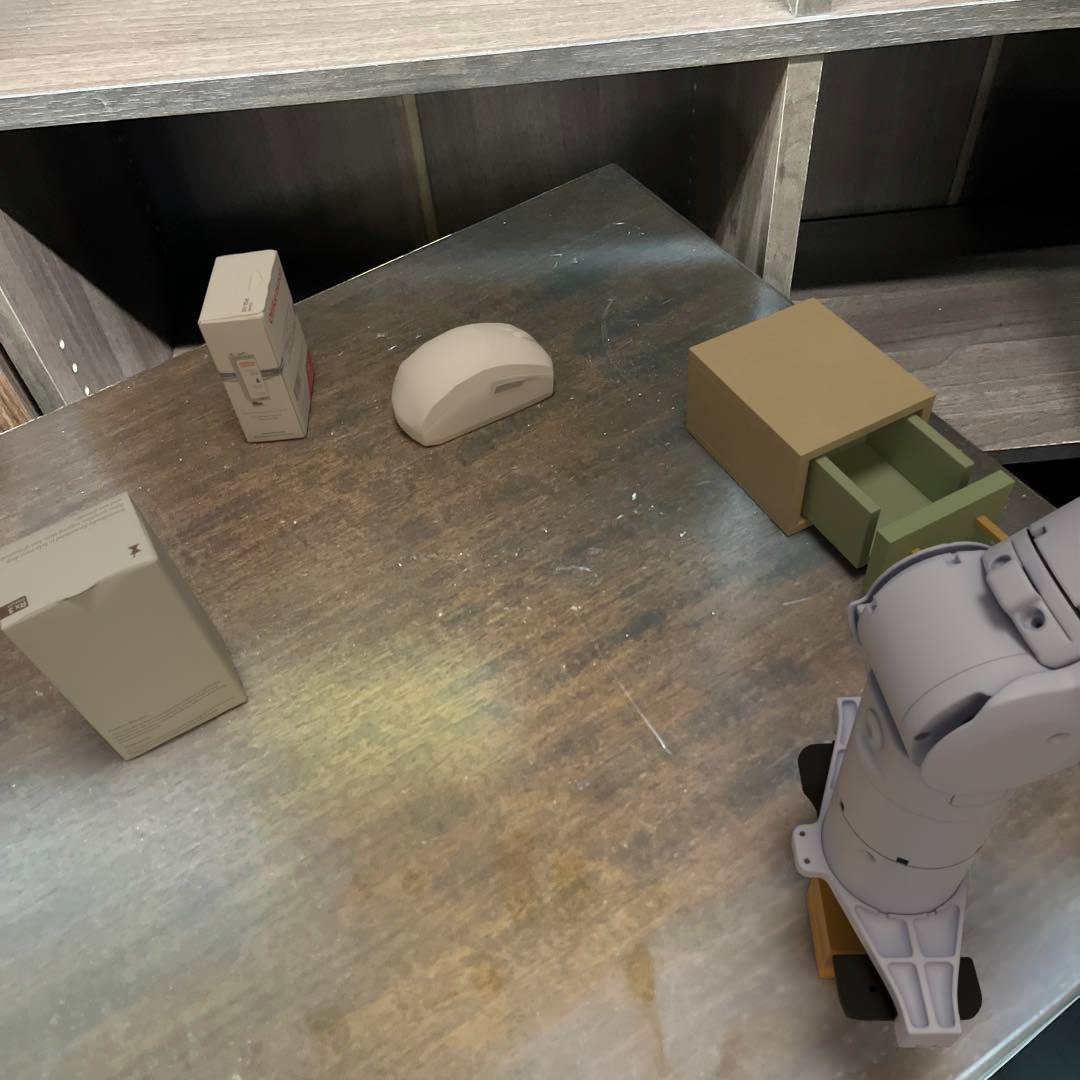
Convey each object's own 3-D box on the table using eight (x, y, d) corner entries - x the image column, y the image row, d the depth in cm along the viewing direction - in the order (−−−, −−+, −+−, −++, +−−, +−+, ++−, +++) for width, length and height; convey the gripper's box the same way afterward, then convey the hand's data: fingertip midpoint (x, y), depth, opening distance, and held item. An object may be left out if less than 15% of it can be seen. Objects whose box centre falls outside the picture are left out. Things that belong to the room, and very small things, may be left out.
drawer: (1047, 593, 61) (1077, 531, 56) (925, 658, 58) (948, 598, 54) (872, 439, 71) (887, 376, 66) (762, 489, 68) (770, 427, 64)
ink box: (260, 374, 83) (213, 251, 74) (318, 368, 83) (278, 244, 74) (245, 445, 77) (193, 321, 68) (308, 439, 77) (263, 314, 68)
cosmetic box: (223, 639, 65) (134, 481, 54) (252, 706, 61) (163, 552, 50) (97, 698, 63) (-23, 546, 51) (119, 772, 59) (-5, 625, 48)
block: (885, 895, 50) (899, 863, 47) (902, 977, 48) (919, 949, 45) (805, 896, 51) (815, 865, 48) (818, 978, 48) (829, 950, 45)
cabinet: (912, 477, 69) (936, 394, 63) (787, 537, 66) (800, 456, 61) (801, 378, 77) (813, 296, 71) (685, 428, 74) (688, 347, 68)
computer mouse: (565, 393, 78) (560, 328, 73) (416, 456, 75) (400, 393, 70) (527, 350, 82) (520, 286, 77) (383, 409, 79) (366, 345, 74)
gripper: (780, 644, 43) (754, 789, 53) (843, 998, 33) (797, 1092, 44) (946, 638, 42) (888, 786, 53) (1058, 996, 33) (961, 1091, 43)
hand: (857, 924), depth 48 cm, fingers open, 7 cm apart
